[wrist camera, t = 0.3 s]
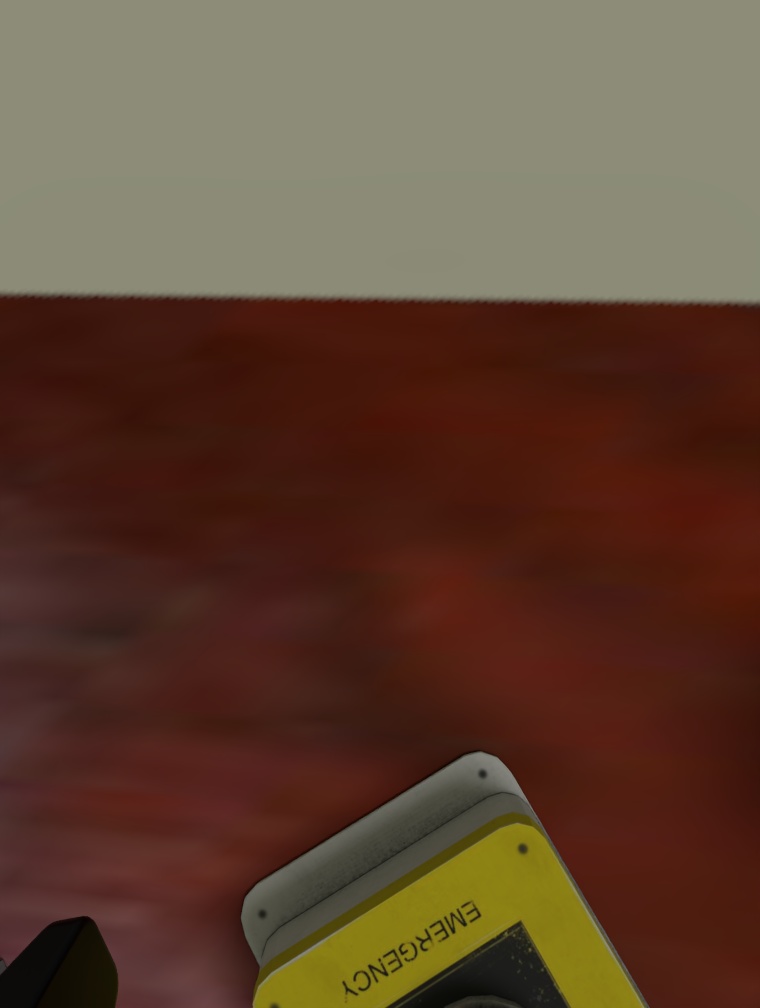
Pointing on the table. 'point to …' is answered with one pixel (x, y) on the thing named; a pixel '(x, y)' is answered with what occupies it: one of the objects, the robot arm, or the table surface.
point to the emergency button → (435, 910)
